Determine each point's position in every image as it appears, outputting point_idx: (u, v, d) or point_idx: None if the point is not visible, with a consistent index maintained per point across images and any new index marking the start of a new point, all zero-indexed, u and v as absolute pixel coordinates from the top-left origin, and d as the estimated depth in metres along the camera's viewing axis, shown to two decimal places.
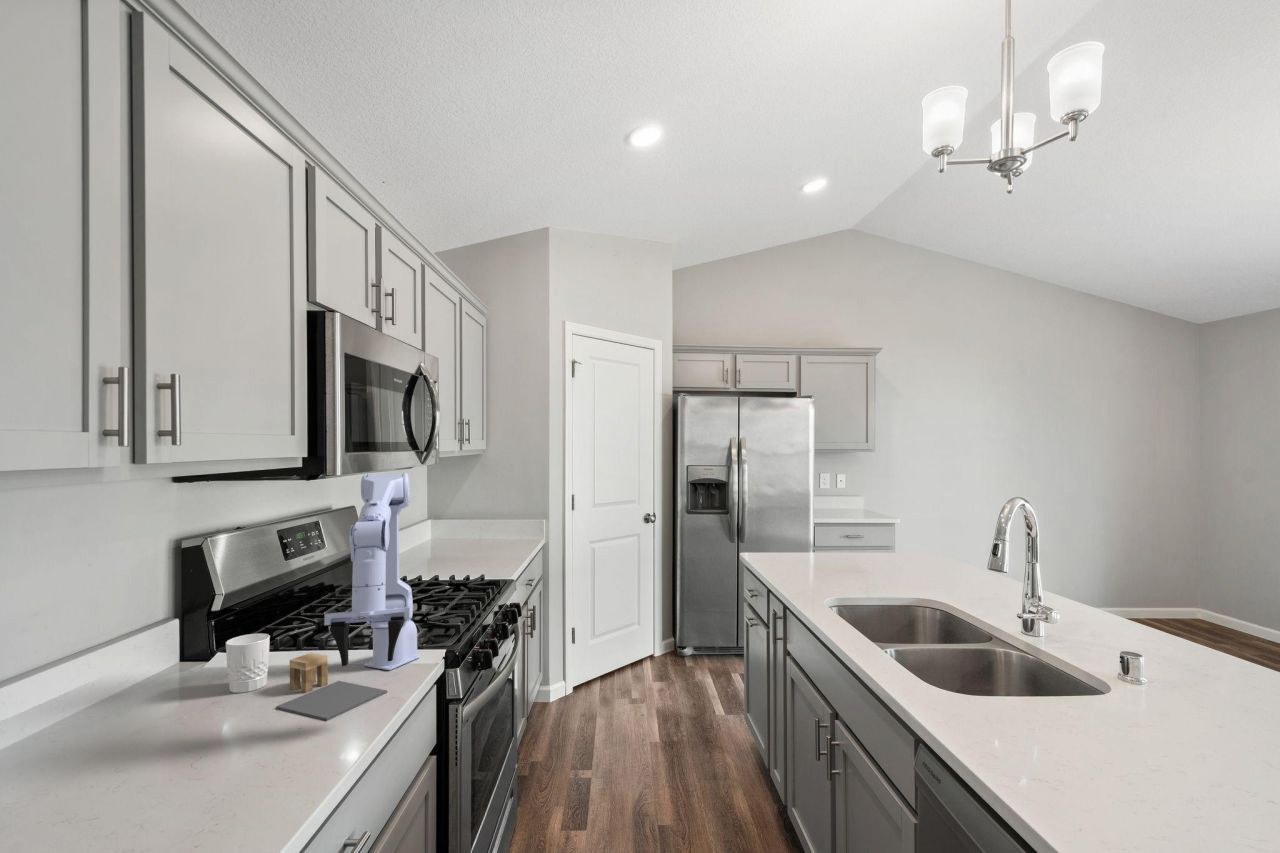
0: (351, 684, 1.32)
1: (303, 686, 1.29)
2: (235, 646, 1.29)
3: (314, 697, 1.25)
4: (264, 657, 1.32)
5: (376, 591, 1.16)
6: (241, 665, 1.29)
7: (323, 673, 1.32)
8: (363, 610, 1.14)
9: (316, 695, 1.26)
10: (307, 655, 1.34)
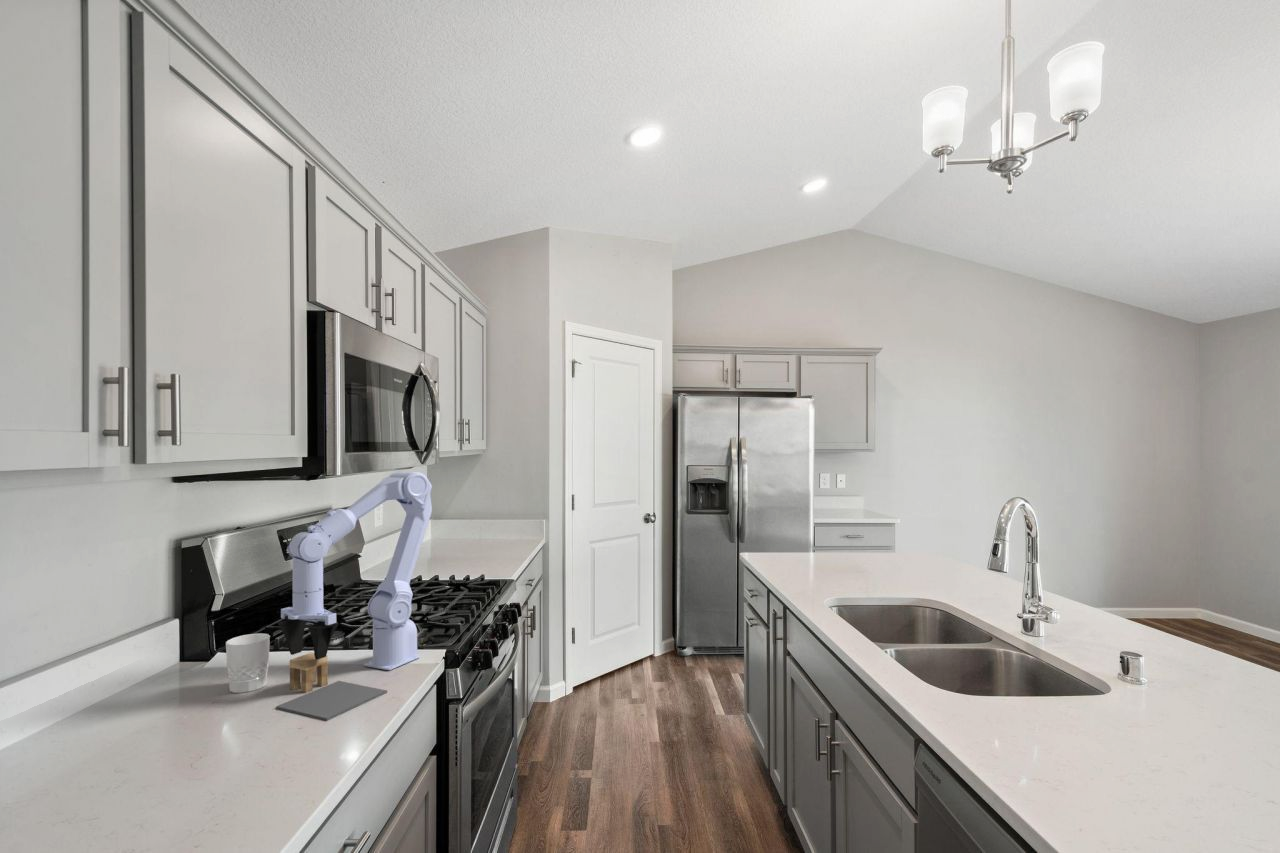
0: (351, 684, 1.32)
1: (303, 686, 1.29)
2: (235, 646, 1.29)
3: (314, 697, 1.25)
4: (264, 657, 1.32)
5: (303, 598, 1.30)
6: (241, 665, 1.29)
7: (323, 673, 1.32)
8: (294, 613, 1.30)
9: (316, 695, 1.26)
10: (307, 655, 1.34)
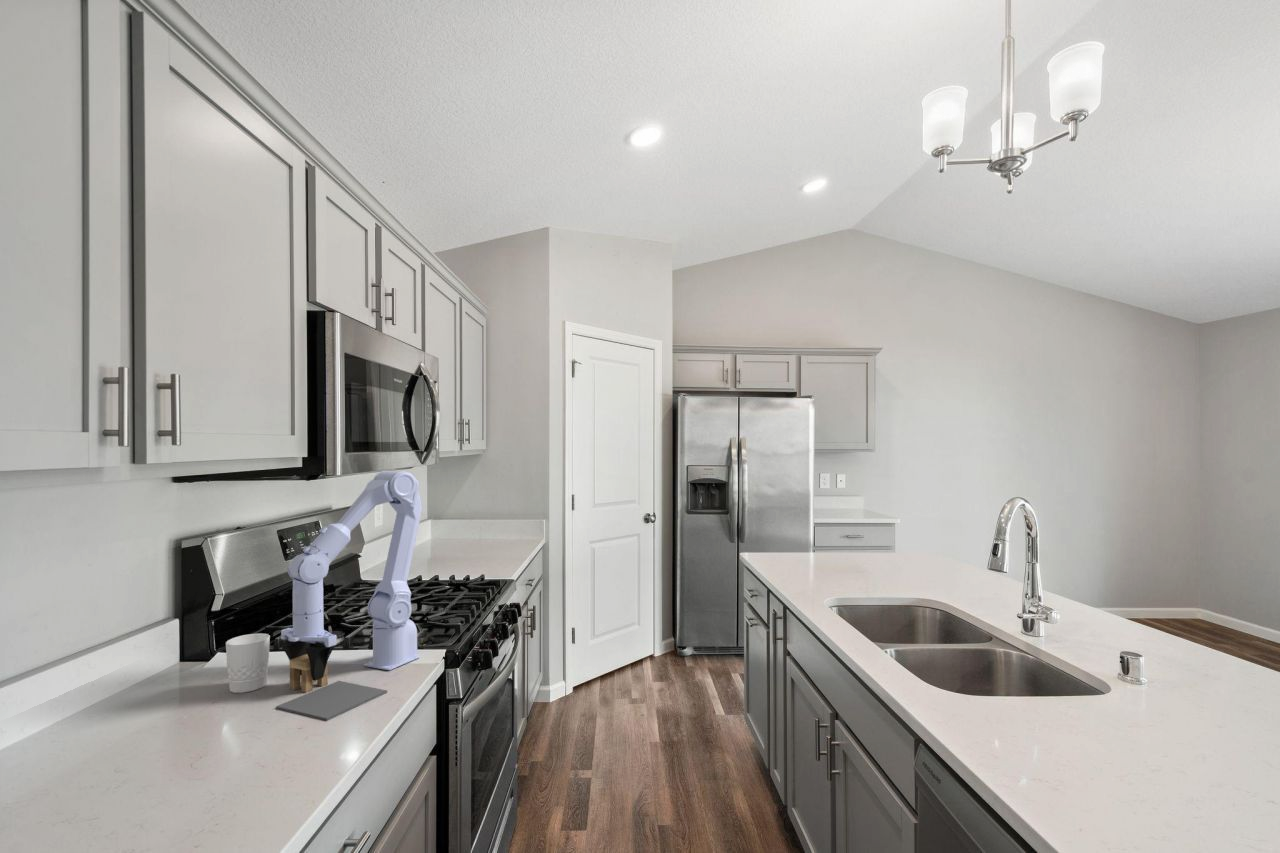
0: (351, 684, 1.32)
1: (303, 686, 1.29)
2: (235, 646, 1.29)
3: (314, 697, 1.25)
4: (264, 657, 1.32)
5: (303, 620, 1.30)
6: (241, 665, 1.29)
7: None
8: (294, 634, 1.30)
9: (316, 695, 1.26)
10: (307, 655, 1.34)
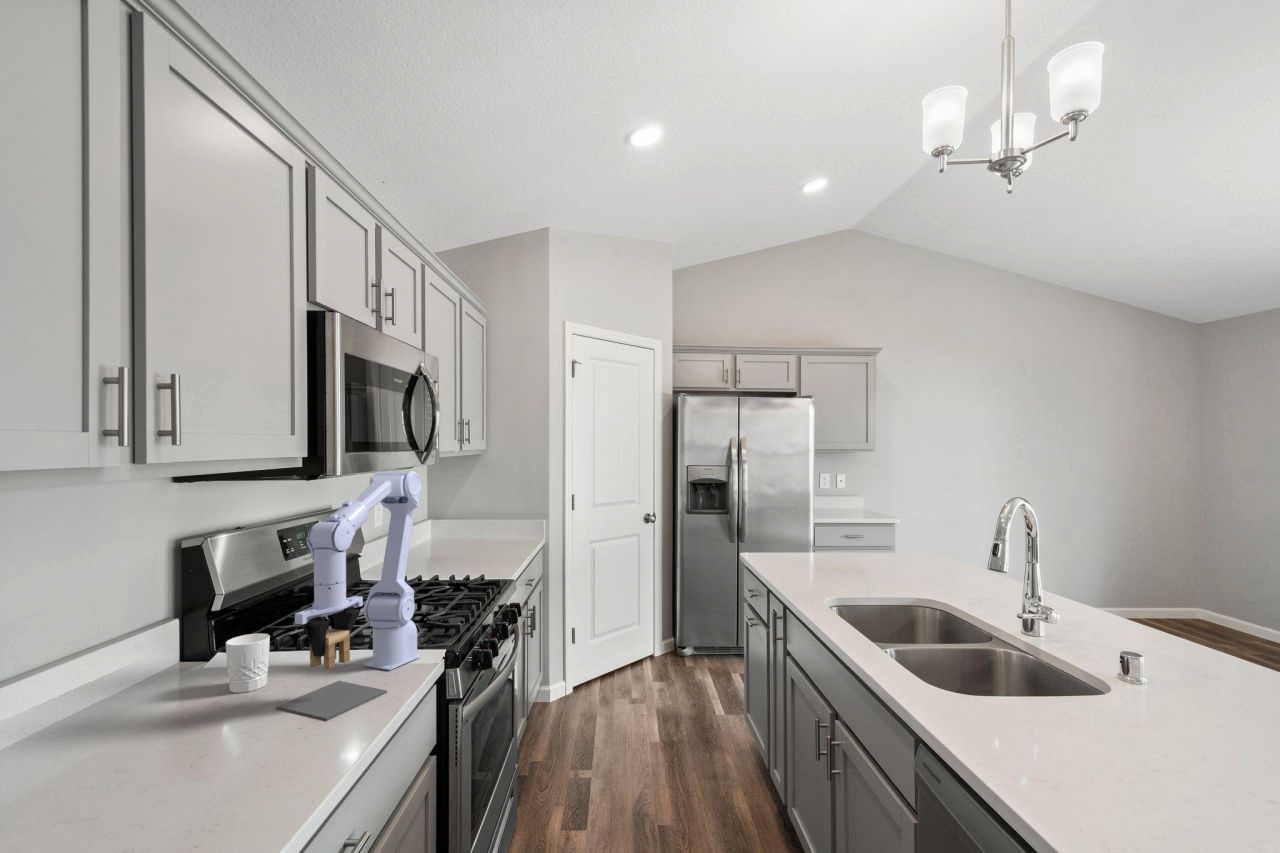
0: (351, 684, 1.32)
1: None
2: (235, 646, 1.29)
3: (314, 697, 1.25)
4: (264, 657, 1.32)
5: None
6: (241, 665, 1.29)
7: (324, 655, 1.23)
8: None
9: (316, 695, 1.26)
10: (341, 631, 1.27)
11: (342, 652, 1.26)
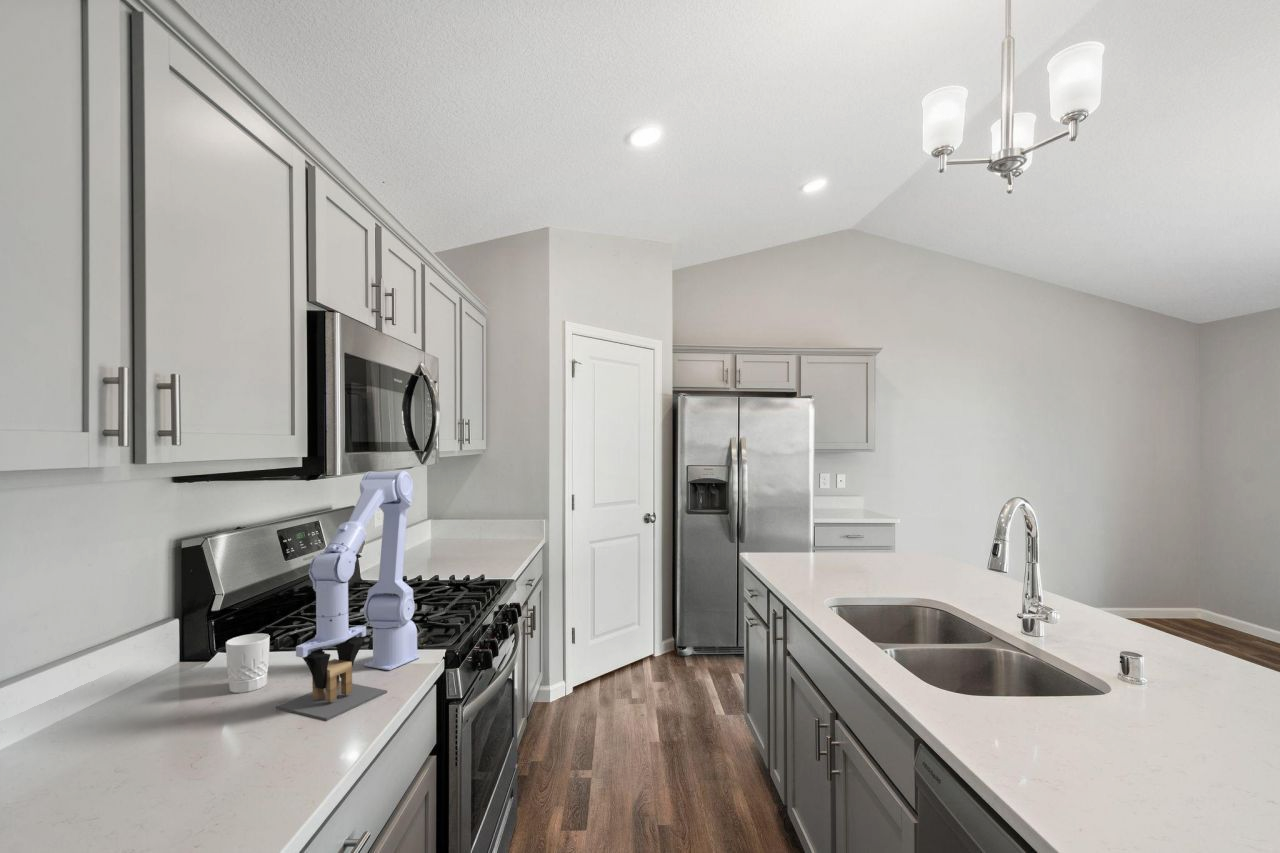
0: None
1: None
2: (235, 646, 1.29)
3: None
4: (264, 657, 1.32)
5: None
6: (241, 665, 1.29)
7: (326, 687, 1.22)
8: None
9: None
10: (343, 662, 1.26)
11: (344, 684, 1.25)
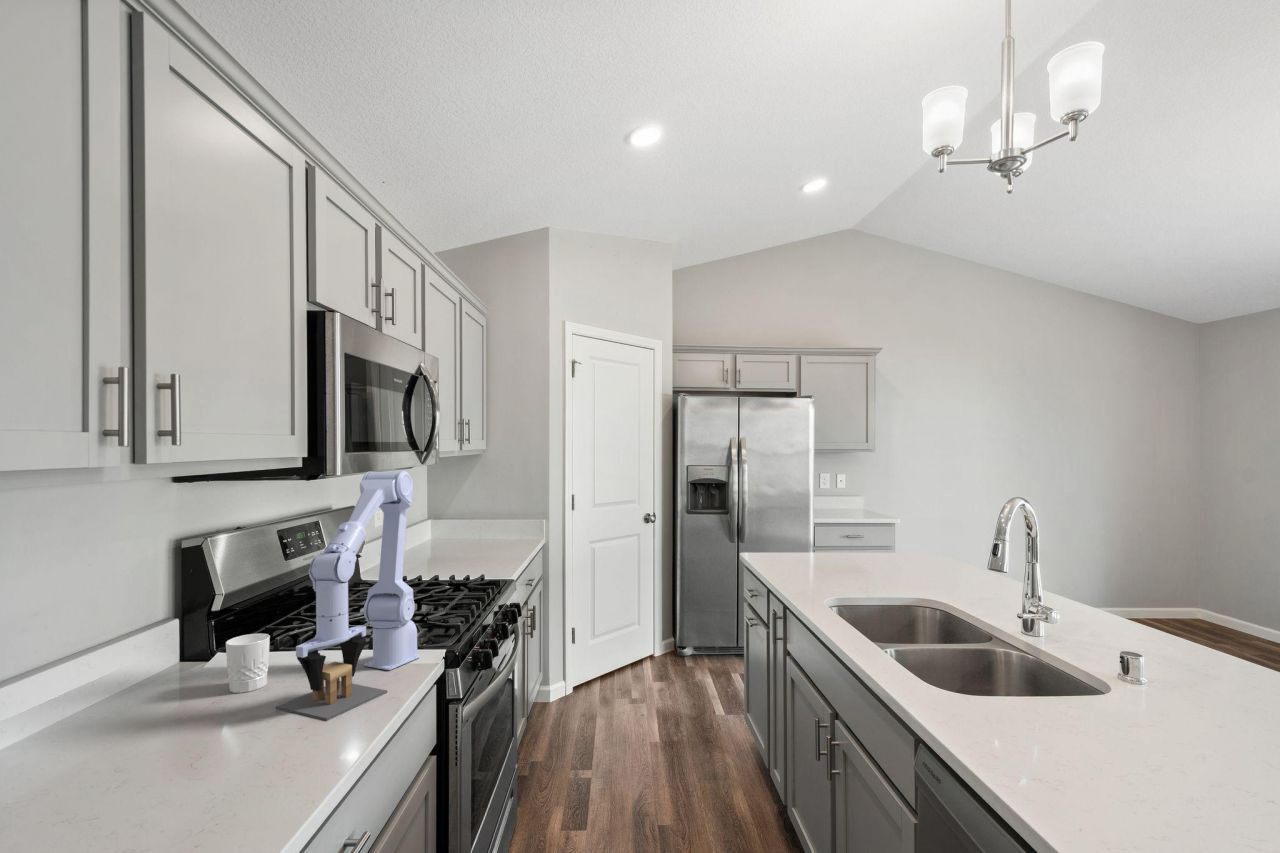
0: None
1: None
2: (235, 646, 1.29)
3: None
4: (264, 657, 1.32)
5: None
6: (241, 665, 1.29)
7: (326, 690, 1.22)
8: None
9: None
10: (343, 665, 1.26)
11: (344, 687, 1.25)
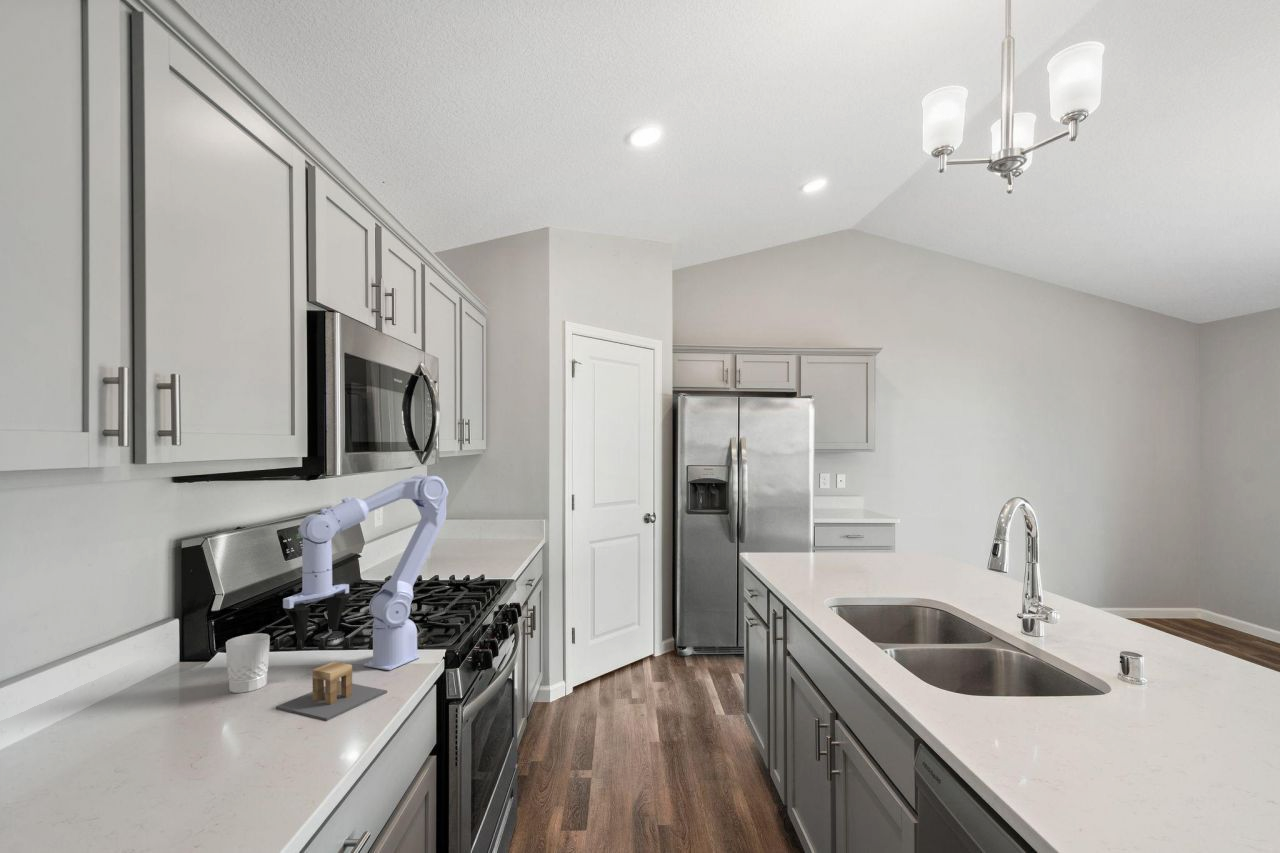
0: None
1: None
2: (235, 646, 1.29)
3: None
4: (264, 657, 1.32)
5: None
6: (241, 665, 1.29)
7: (326, 690, 1.22)
8: None
9: None
10: (343, 665, 1.26)
11: (344, 687, 1.25)
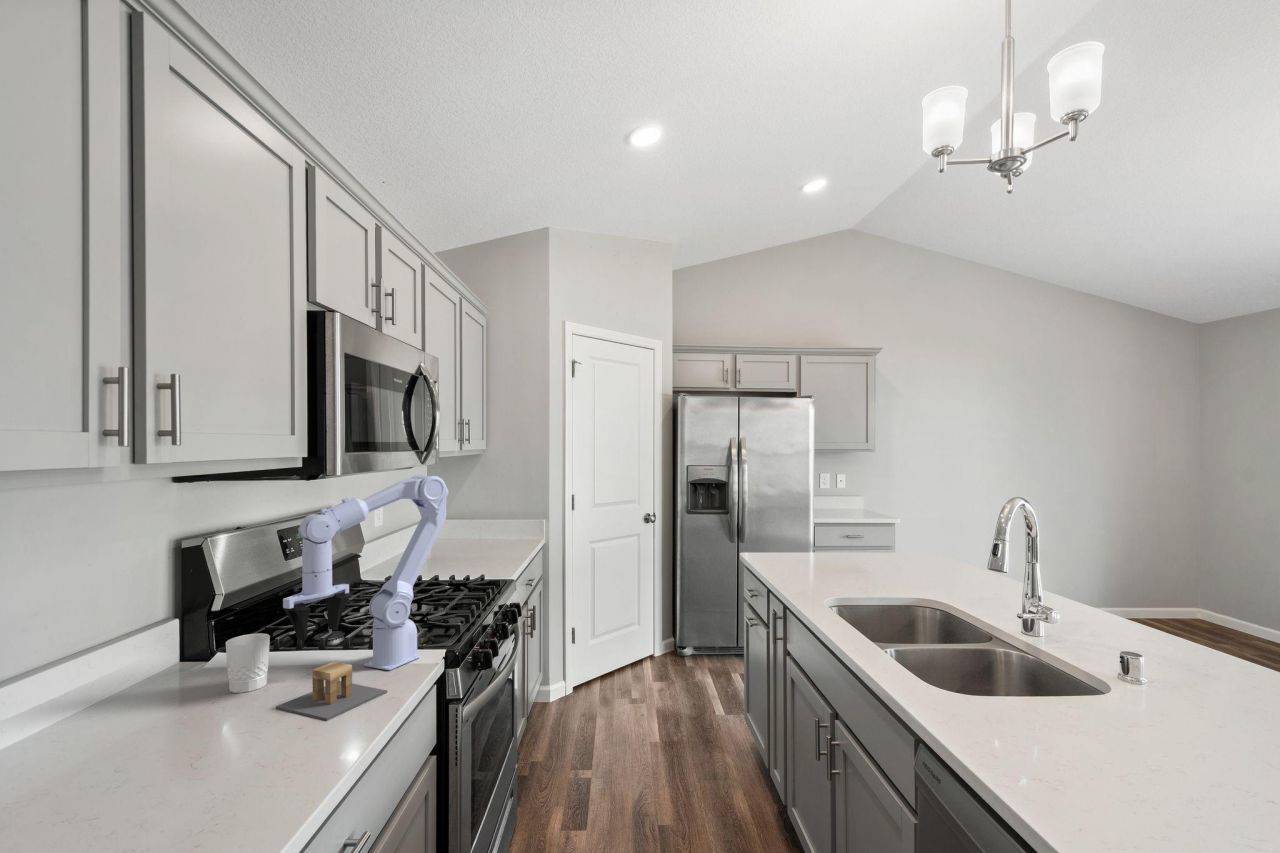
0: None
1: None
2: (235, 646, 1.29)
3: None
4: (264, 657, 1.32)
5: None
6: (241, 665, 1.29)
7: (326, 690, 1.22)
8: None
9: None
10: (343, 665, 1.26)
11: (344, 687, 1.25)
